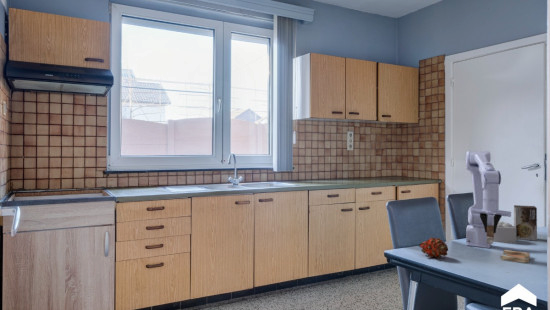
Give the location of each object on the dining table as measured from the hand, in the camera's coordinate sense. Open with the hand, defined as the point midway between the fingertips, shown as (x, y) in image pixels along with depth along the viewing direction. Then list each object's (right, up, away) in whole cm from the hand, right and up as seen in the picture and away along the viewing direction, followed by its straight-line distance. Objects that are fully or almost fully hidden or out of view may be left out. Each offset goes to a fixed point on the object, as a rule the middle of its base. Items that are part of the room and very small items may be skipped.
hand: (490, 232), depth 163 cm
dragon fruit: (-25, -10, -3) cm, 27 cm away
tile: (+7, -10, -5) cm, 13 cm away
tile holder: (+7, -9, -5) cm, 13 cm away
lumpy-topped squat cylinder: (+20, -10, +27) cm, 35 cm away
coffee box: (+34, -10, +31) cm, 47 cm away
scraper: (0, -4, 0) cm, 4 cm away
